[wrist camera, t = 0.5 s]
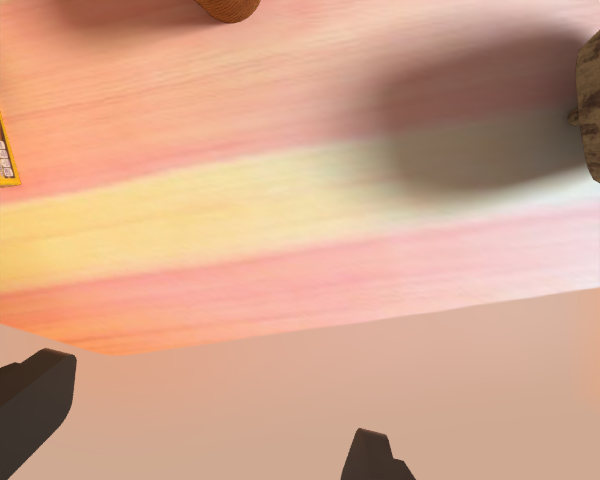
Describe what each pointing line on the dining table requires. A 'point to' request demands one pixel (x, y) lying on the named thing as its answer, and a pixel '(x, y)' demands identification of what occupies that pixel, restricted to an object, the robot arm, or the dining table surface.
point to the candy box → (7, 160)
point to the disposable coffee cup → (229, 9)
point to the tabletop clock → (589, 103)
